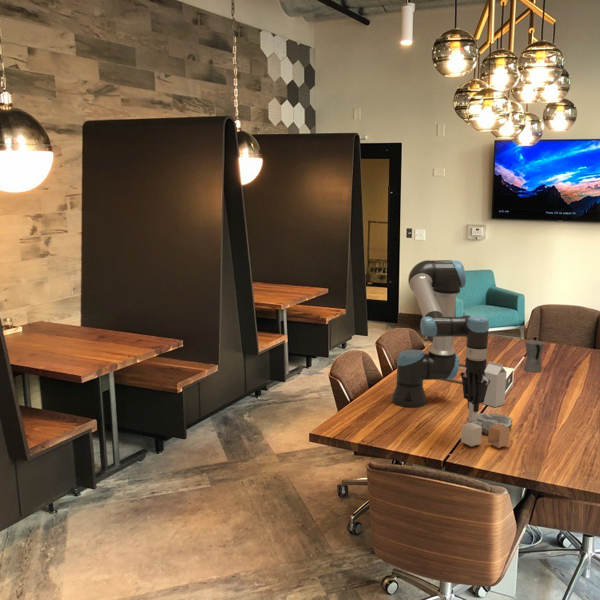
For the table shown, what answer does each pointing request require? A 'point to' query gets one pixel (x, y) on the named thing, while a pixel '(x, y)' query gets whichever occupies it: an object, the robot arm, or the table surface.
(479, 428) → the cream sugar cube
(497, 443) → the tan brown block
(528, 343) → the coffeepot
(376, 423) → the table surface
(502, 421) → the brain slice
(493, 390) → the milk carton
